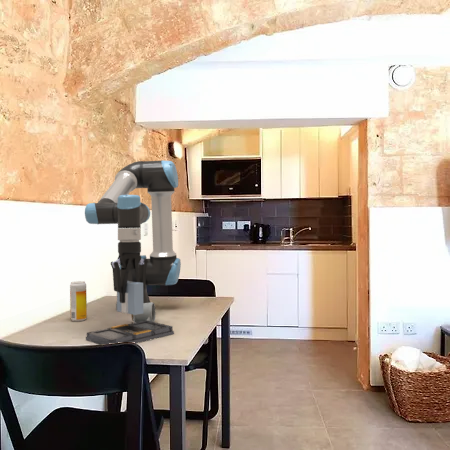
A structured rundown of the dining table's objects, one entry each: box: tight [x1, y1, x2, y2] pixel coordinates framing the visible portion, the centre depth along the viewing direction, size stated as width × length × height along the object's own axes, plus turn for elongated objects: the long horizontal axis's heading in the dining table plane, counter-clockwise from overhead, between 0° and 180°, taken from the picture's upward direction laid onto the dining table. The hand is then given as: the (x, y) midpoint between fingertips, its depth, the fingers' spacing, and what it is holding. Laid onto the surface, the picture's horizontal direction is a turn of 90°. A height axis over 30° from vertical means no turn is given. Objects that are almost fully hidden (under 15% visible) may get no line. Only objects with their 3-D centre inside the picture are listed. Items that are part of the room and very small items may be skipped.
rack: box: [85, 321, 175, 345], centre depth 154 cm, size 16×24×3 cm, turn 136°
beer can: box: [69, 280, 88, 322], centre depth 181 cm, size 6×6×15 cm
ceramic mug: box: [130, 301, 156, 323], centre depth 174 cm, size 11×8×8 cm
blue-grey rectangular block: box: [116, 281, 143, 315], centre depth 154 cm, size 10×4×10 cm, turn 46°
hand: (130, 311), depth 154 cm, fingers closed on blue-grey rectangular block, 3 cm apart
